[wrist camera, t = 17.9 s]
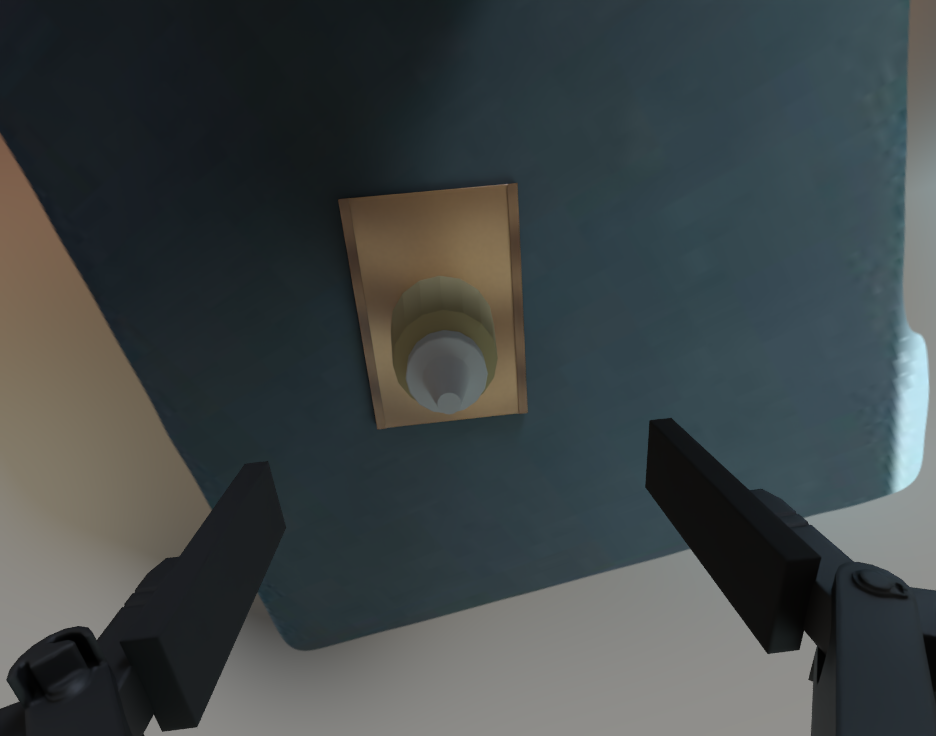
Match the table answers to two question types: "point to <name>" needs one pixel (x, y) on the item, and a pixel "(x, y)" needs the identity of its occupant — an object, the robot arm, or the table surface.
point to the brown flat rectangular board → (429, 255)
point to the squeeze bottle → (443, 344)
